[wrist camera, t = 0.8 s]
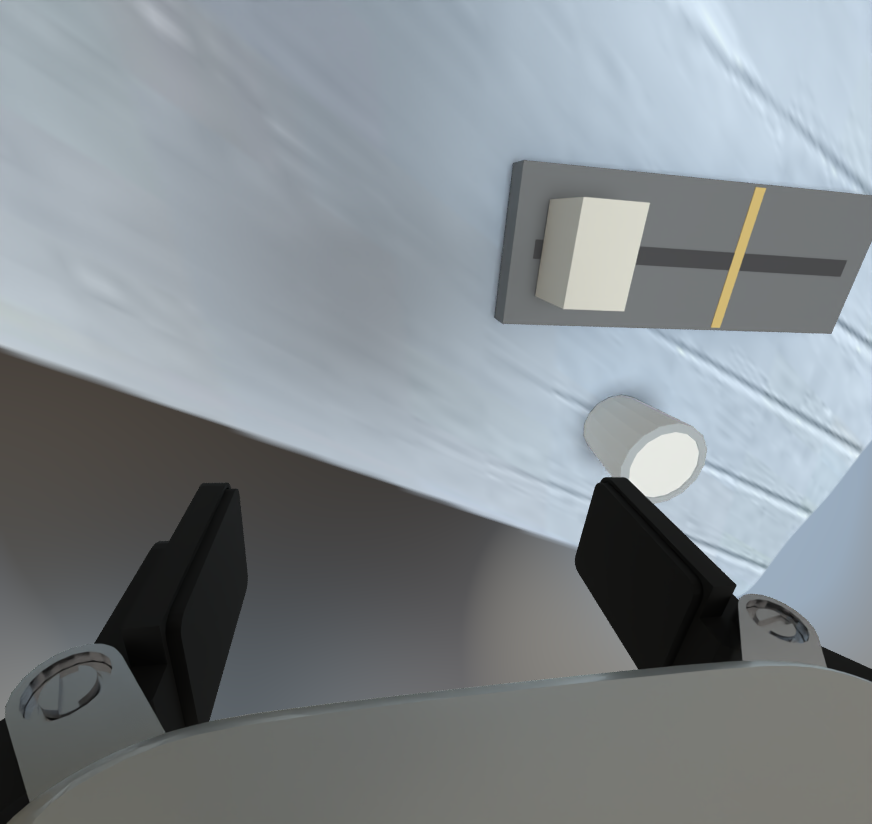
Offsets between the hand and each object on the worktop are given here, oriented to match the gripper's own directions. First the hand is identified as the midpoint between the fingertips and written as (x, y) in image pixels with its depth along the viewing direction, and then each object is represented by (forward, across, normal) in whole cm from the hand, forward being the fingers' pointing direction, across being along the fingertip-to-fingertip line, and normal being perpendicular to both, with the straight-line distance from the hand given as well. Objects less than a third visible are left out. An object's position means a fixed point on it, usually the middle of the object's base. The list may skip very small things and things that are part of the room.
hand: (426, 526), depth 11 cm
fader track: (+22, -22, -6) cm, 32 cm away
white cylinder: (+22, -21, +8) cm, 31 cm away
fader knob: (+20, -12, -6) cm, 24 cm away
